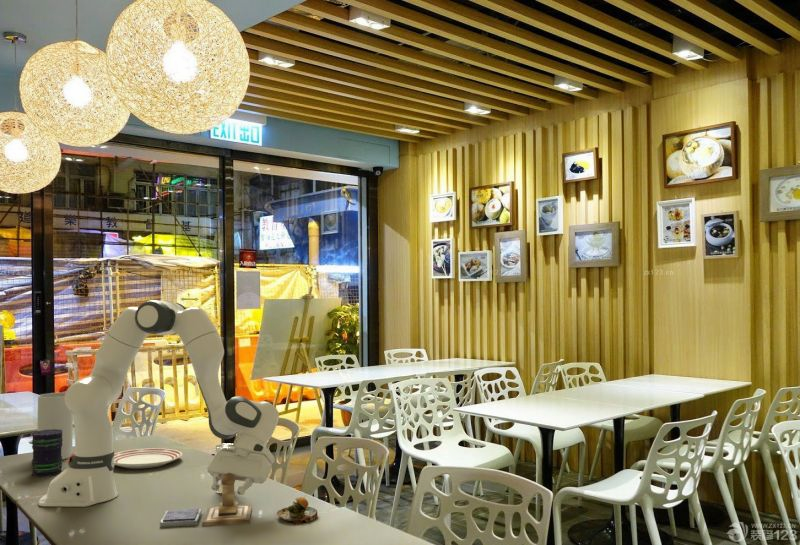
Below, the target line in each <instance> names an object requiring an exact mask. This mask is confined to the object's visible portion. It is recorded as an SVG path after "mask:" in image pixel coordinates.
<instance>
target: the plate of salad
mask: <svg viewBox="0 0 800 545" xmlns="http://www.w3.org/2000/svg"><path fill="white" fill-rule="evenodd" d="M307 493H308V492H307V491H306V492H305V494H307ZM276 515H277V516H278V517H279V518H281V519H282V520H284V521H288V522H289V521H290V522H293V523H294V525H301V524H303V523H302V522H303V521H305V523H310V522H313V521H314V520H315V519H318V510H317V509H316V508H314V507H311V506H309V501H308V500H307V499H306V497H302V496H300V497H299V496H298V497H296V498H295V501H293V502H292V505H289V506H288V507H283V508H282V509H280V510H278V511H277V512H276Z"/></svg>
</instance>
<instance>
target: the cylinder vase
mask: <svg viewBox="0 0 800 545" xmlns="http://www.w3.org/2000/svg"><path fill="white" fill-rule="evenodd" d="M65 393H66V392H50V393H42V394H39V395H38V396H37V431H41V430H52V429H57V430H62V438H63V441H62V443H63V444H62V447H61V456H62V461H63V460H68V458H69V457H70V456H71V454H73V436H74V435H73V433H74V432H73V429H74V428H73V427H74V422H73V418H72V414H71V411H70V409H69V408H68V407H67V405H66V403H65ZM37 431H36V432H37Z"/></svg>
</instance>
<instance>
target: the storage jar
mask: <svg viewBox="0 0 800 545" xmlns="http://www.w3.org/2000/svg"><path fill="white" fill-rule="evenodd" d="M62 441H63V438H62V430H57V429H52V430H41V431H34V432H32V440H31V449H32V460H31V476H32V477H34V478H35V477H36V478H47V477H55V476H58V475H59V474H60V473H61V472H63V470H62V467H63V460H62V456H61V447H62V444H63V443H62Z"/></svg>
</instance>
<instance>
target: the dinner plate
mask: <svg viewBox="0 0 800 545" xmlns="http://www.w3.org/2000/svg"><path fill="white" fill-rule="evenodd" d="M114 456H115V463H114V466H118V467H121V468H124V469H132V470H133V469H135V470H136V469H138V470H140V469H151V468H157V467H161V466H165V465H167V464H169V463H171V462H174V461H176V460H178V459H179V458H181V457H182V456H183V452H181V451H179V450H177V449H172V448H159V447H158V448H152V447H151V448H150V447H149V448H148V447H147V448H137V449H136V448H135V449H129V450H128V449H127V450H122V451H119V452H116V453H115V452H114Z"/></svg>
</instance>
